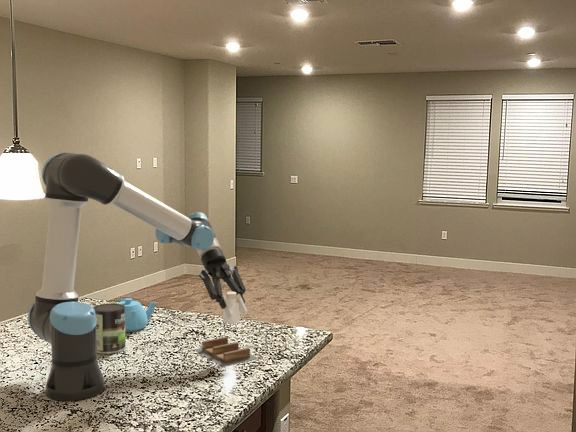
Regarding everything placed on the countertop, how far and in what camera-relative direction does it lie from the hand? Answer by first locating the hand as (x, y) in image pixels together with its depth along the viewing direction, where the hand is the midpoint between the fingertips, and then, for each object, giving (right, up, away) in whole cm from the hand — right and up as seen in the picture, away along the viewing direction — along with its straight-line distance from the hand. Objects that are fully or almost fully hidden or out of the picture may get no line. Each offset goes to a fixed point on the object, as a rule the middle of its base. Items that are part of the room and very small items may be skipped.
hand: (237, 314), depth 193 cm
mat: (-5, -14, +7) cm, 16 cm away
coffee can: (-43, -13, +12) cm, 47 cm away
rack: (-5, -14, +7) cm, 16 cm away
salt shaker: (-2, -3, +3) cm, 5 cm away
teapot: (-43, -10, +36) cm, 57 cm away
